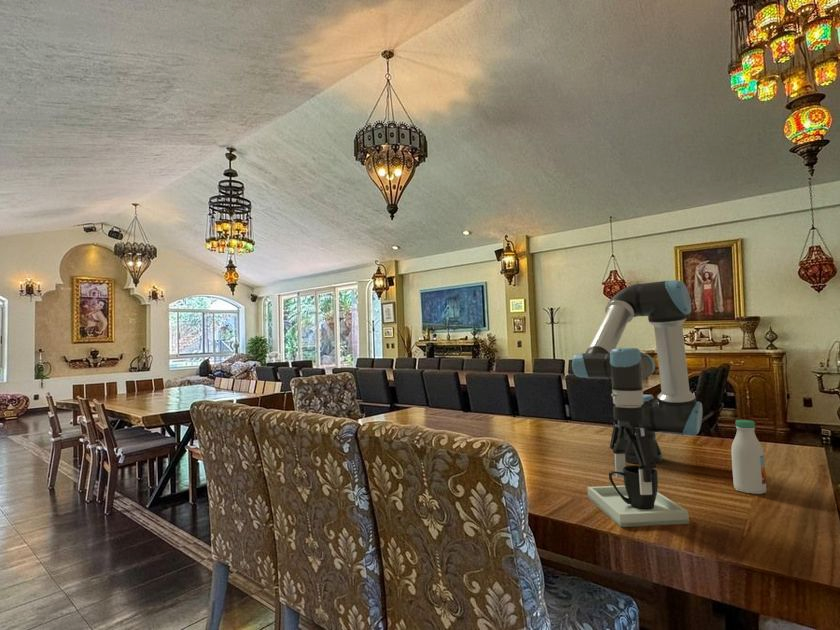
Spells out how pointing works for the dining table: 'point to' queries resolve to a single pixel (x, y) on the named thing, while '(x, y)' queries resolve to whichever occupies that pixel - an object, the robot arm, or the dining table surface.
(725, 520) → the dining table surface
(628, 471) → the mug
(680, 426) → the robot arm
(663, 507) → the tray
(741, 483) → the milk bottle
